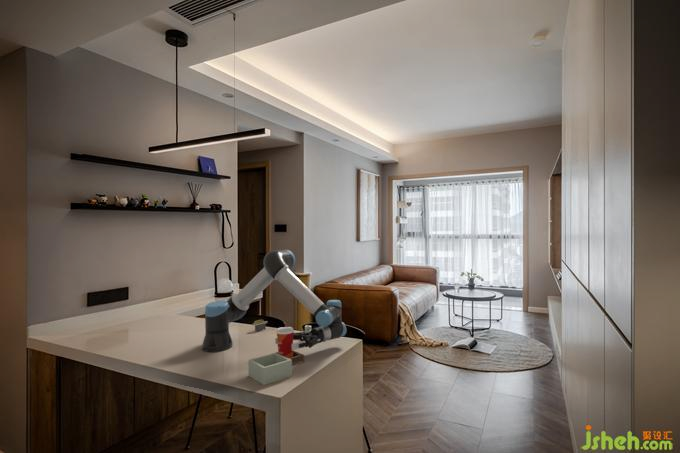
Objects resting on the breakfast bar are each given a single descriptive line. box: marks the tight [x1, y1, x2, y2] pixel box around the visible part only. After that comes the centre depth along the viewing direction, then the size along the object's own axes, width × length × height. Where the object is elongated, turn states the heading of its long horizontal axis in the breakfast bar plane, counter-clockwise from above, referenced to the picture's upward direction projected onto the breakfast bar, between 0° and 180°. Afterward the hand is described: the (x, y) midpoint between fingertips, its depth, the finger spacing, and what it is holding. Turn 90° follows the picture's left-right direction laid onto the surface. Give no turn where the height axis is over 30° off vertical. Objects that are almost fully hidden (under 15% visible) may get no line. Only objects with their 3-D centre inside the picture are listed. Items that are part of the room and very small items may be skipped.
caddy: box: [247, 352, 293, 386], centre depth 151 cm, size 13×13×6 cm
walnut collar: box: [275, 350, 305, 366], centre depth 167 cm, size 12×12×3 cm
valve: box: [304, 324, 312, 333], centre depth 203 cm, size 7×7×12 cm
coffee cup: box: [275, 326, 295, 358], centre depth 168 cm, size 8×8×15 cm
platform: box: [252, 318, 268, 332], centre depth 224 cm, size 12×18×7 cm, turn 139°
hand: (283, 343), depth 167 cm, fingers open, 13 cm apart
